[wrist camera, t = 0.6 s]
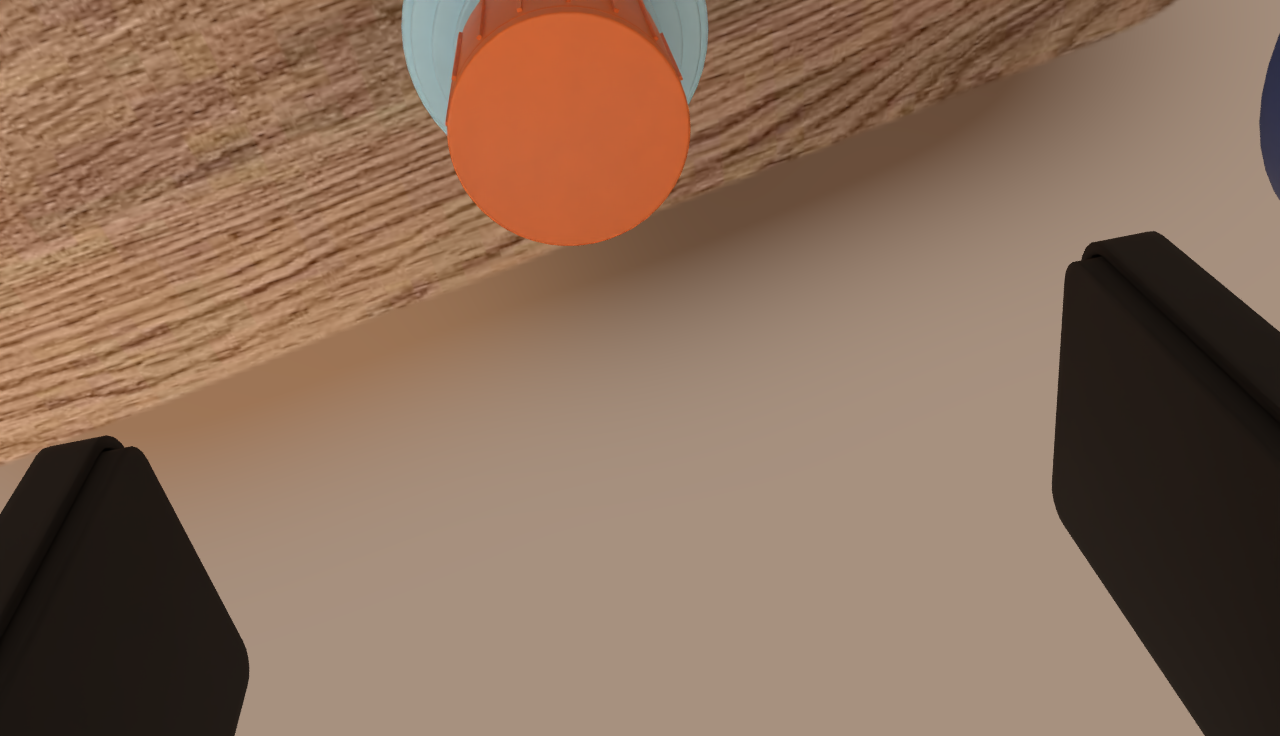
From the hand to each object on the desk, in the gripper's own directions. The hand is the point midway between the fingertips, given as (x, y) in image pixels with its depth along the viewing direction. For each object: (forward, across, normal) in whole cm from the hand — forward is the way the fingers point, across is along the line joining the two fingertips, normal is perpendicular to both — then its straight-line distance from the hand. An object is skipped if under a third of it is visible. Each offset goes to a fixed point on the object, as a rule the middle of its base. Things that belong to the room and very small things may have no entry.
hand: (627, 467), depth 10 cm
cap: (+13, 0, 0) cm, 13 cm away
